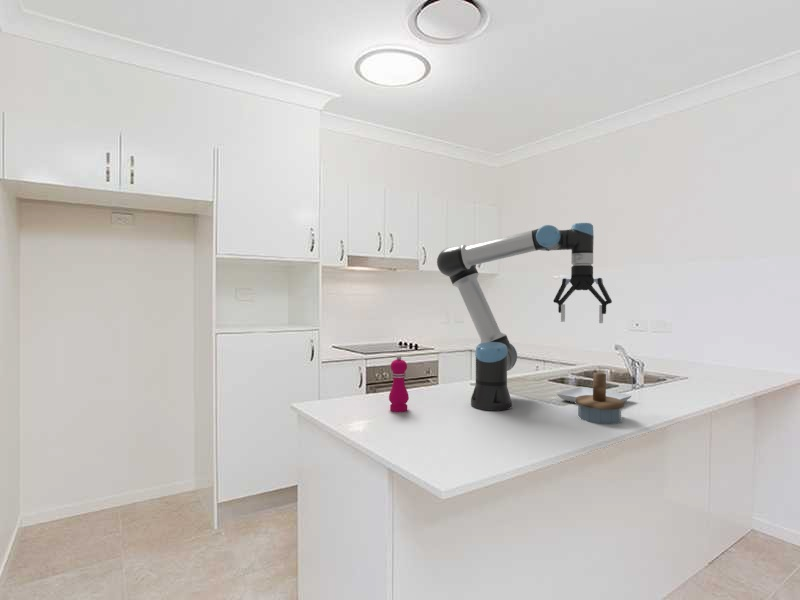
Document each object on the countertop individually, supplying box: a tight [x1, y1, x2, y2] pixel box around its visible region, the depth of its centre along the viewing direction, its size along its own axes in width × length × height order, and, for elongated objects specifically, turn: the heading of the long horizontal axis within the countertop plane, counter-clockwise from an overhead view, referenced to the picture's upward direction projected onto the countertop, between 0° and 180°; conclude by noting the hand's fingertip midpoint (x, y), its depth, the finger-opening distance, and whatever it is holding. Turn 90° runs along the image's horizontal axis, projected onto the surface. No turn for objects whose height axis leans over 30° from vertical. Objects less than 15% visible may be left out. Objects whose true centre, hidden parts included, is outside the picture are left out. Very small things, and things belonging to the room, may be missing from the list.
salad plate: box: [556, 386, 632, 403], centre depth 179 cm, size 21×21×3 cm
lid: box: [575, 372, 625, 409], centre depth 155 cm, size 15×15×10 cm
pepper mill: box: [388, 354, 410, 413], centre depth 166 cm, size 7×7×20 cm
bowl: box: [577, 404, 622, 425], centre depth 155 cm, size 13×13×5 cm
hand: (581, 322), depth 169 cm, fingers open, 13 cm apart
